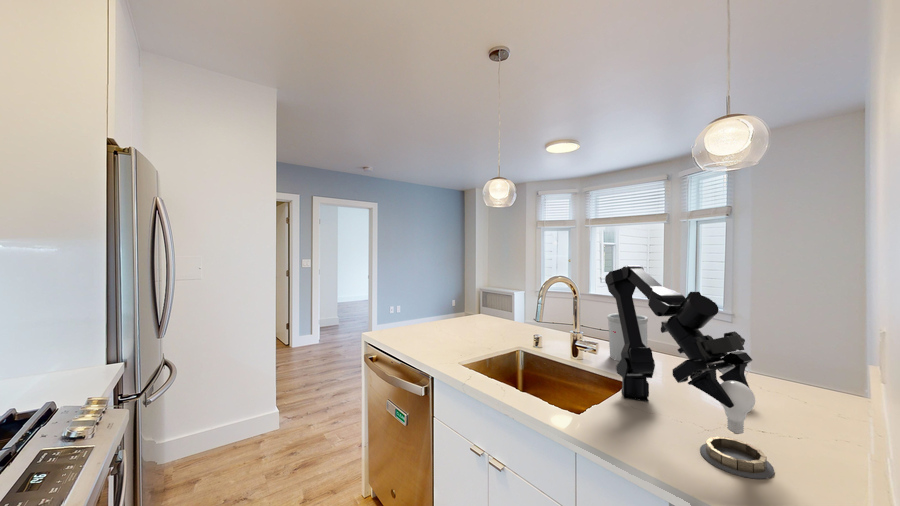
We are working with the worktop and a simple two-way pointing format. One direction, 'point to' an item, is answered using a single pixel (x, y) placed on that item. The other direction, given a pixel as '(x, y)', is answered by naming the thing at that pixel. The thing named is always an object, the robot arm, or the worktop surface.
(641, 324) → the utensil holder
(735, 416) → the lightbulb
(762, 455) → the socket collar
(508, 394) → the worktop surface
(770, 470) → the socket mat
